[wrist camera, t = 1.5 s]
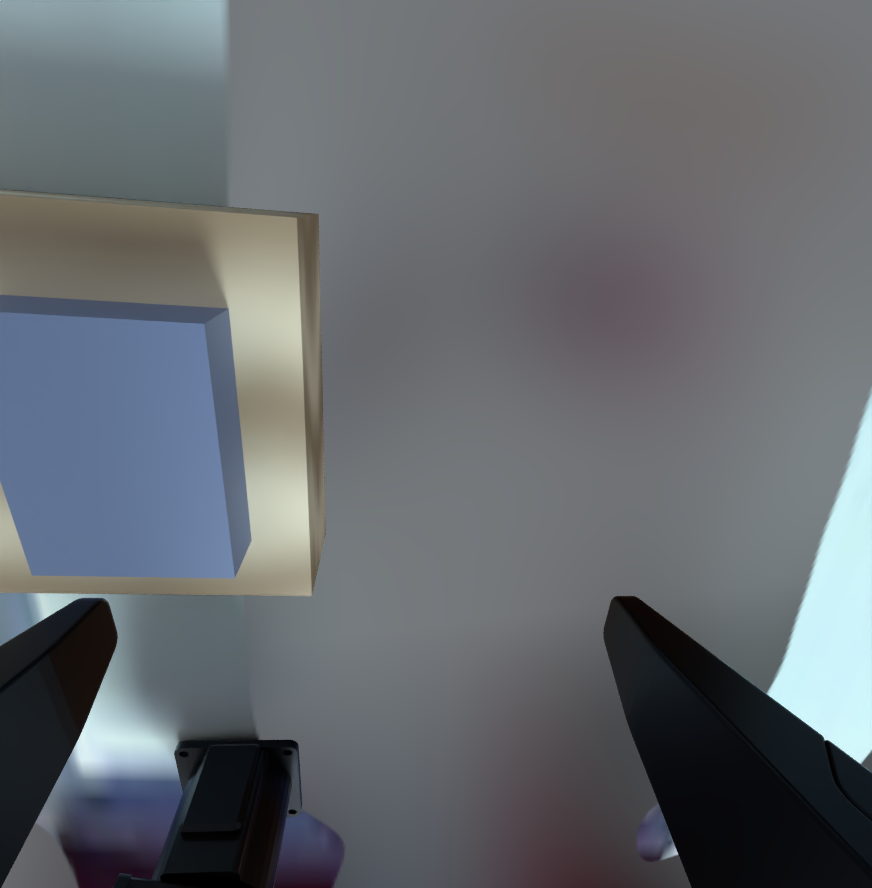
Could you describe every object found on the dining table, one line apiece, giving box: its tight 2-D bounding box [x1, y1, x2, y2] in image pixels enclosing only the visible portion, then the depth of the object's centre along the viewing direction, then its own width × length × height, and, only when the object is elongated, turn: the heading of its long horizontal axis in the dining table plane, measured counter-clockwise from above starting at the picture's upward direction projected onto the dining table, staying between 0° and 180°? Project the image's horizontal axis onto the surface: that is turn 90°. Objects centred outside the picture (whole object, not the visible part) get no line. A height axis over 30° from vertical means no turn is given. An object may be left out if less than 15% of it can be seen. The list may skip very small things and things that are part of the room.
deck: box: [0, 189, 326, 596], centre depth 18 cm, size 13×12×4 cm
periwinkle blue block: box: [0, 295, 252, 578], centre depth 15 cm, size 8×6×2 cm
